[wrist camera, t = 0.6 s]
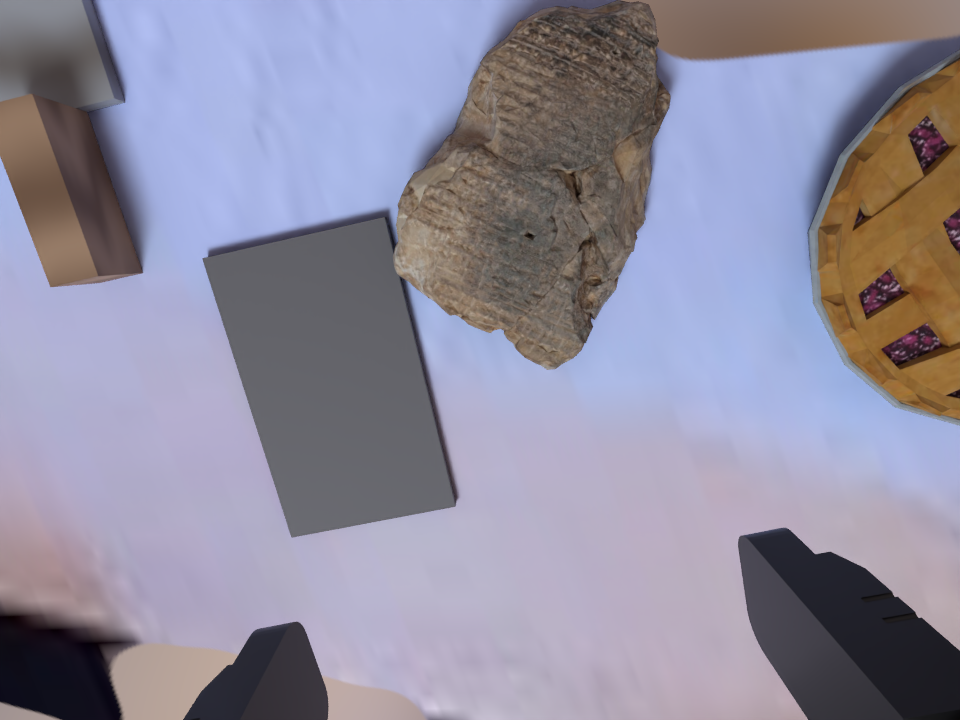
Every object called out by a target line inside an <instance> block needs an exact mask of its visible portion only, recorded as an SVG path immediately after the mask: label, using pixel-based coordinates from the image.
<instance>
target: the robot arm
mask: <svg viewBox="0 0 960 720" xmlns="http://www.w3.org/2000/svg"><path fill="white" fill-rule="evenodd" d="M738 548H739V555H740V562H741V569H742V576H743V583H744V590H745V597H746V604H747V611H748V616H749V620H750V623H751V626H752V629H753V631H754V634H755V636H756V639H757V641H758V643H759V645H760V647H761V649H762V650H763V652H764V654H765V655H766V657H767V658H768V660H769V661H770V663H771V664H772V666H773V667H774V669H775V670H776V672H777V673H778V675H779V676H780V678H781V679H782V681H783V682H784V684H785V685H786V687H787V688H788V690H789V691H790V693H791V694H792V696H793V697H794V699H795V700H796V702H797V703H798V705H799V706H800V708H801V709H802V711H803V712H804V714H805V715H806V717H807V718H808V720H960V651H959V650H958V649H957V648H956V647H955V646H953V645H952V644H951V643H950V642H949V641H948V640H947V639H945V638H944V637H943V636H942V635H941V634H940V633H939V632H937V631H936V630H935V629H934V628H933V627H932V626H931V625H929V624H928V623H927V622H926V621H925V620H924V619H923V618H918V617H917V615H916V613H915V611H913V610H912V609H911V608H910V607H909V606H908V605H907V604H905V603H904V602H903V601H902V600H901V599H900V598H899V597H894V595H893V593H892V591H891V590H889V589H888V588H887V587H886V586H885V585H884V584H882V583H881V582H880V581H879V580H878V579H877V578H876V577H874V576H873V575H872V574H871V573H870V572H869V571H868V570H866V569H865V568H863V567H861V566H859V565H857V564H855V563H853V562H851V561H849V560H847V559H845V558H842V557H840V556H838V555H836V554H834V553H832V552H826V553H821V554H816V555H815V554H814V553H813V552H812V551H811V550H810V549H809V548H808V547H807V546H806V545H805V544H804V543H803V542H802V541H801V540H800V539H799V538H798V537H797V536H796V535H795V534H793V533H792V532H791V531H790V530H789V529H787V528H779V529H774V530H769V531H764V532H759V533H754V534H749V535H744V536H740V537H739V541H738ZM327 719H328V696H327V691H326V687H325V684H324V681H323V679H322V676H321V673H320V670H319V667H318V665H317V662H316V659H315V656H314V653H313V651H312V648H311V645H310V642H309V640H308V637H307V634H306V631H305V629H304V627H303V626H302V625H301V624H300V623H299V622H292V623H287V624H282V625H277V626H271V627H266V628H261V629H257V630H255V631H254V632H253V633H252V634H251V636H250V637H249V639H248V640H247V642H246V644H245V645H244V647H243V649H242V650H241V652H240V654H239V655H238V657H237V658H236V660H235V662H234V663H233V665H228V666H226V668H225V669H223V671H221V673H220V674H219V675H217V676H216V677H215V678H214V679H213V680H212V682H210V683H209V684H208V685H207V687H205V688H204V690H202V691H201V693H200V694H199V696H198V698H197V699H196V701H195V702H194V704H193V705H192V707H191V708H190V710H189V712H188V713H187V715H186V716H185V718H184V719H183V720H327Z"/></svg>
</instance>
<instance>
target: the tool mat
mask: <svg viewBox="0 0 960 720" xmlns="http://www.w3.org/2000/svg"><path fill="white" fill-rule="evenodd" d="M393 254H394V247H393V243H392V239H391V234H390V230H389V226H388V222H387V218H386V217H382V218H378V219H373V220H369V221H365V222H360V223H356V224H351V225H347V226H343V227H338V228H334V229H329V230H325V231H321V232H316V233H312V234H307V235H303V236H299V237H294V238H290V239H286V240H281V241H277V242H272V243H268V244H264V245H259V246H255V247H250V248H246V249H242V250H237V251H233V252H228V253H224V254H220V255H215V256H211V257H206V258H202V259H203V262H204V265H205V268H206V271H207V275H208V278H209V281H210V284H211V287H212V290H213V293H214V296H215V300H216V303H217V306H218V309H219V312H220V315H221V318H222V321H223V325H224V328H225V331H226V334H227V337H228V340H229V343H230V346H231V350H232V353H233V356H234V359H235V362H236V365H237V368H238V371H239V375H240V378H241V381H242V384H243V387H244V390H245V393H246V396H247V400H248V403H249V406H250V409H251V412H252V415H253V418H254V421H255V425H256V428H257V431H258V434H259V437H260V440H261V443H262V446H263V450H264V453H265V456H266V459H267V462H268V465H269V468H270V471H271V475H272V478H273V481H274V484H275V487H276V490H277V493H278V496H279V500H280V503H281V506H282V509H283V512H284V515H285V518H286V521H287V525H288V528H289V531H290V534H291V537H297V536H302V535H308V534H313V533H318V532H323V531H329V530H334V529H339V528H345V527H350V526H355V525H360V524H366V523H371V522H376V521H382V520H387V519H392V518H397V517H403V516H408V515H413V514H419V513H424V512H429V511H434V510H440V509H445V508H450V507H455V506H456V500H455V496H454V492H453V488H452V484H451V480H450V476H449V472H448V468H447V463H446V459H445V455H444V451H443V447H442V443H441V439H440V435H439V431H438V427H437V423H436V418H435V414H434V410H433V406H432V402H431V398H430V394H429V390H428V386H427V382H426V378H425V373H424V369H423V365H422V361H421V357H420V353H419V349H418V345H417V341H416V337H415V333H414V329H413V324H412V320H411V316H410V312H409V308H408V304H407V300H406V296H405V292H404V288H403V284H402V279H401V276H399V275H398V274H397V272H396V270H395V267H394V261H393Z"/></svg>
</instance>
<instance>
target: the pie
mask: <svg viewBox="0 0 960 720" xmlns="http://www.w3.org/2000/svg"><path fill="white" fill-rule="evenodd" d="M808 244H809V256H810V267H811V279H812V293H813V304H814V306H815V308H816V310H817V312H818V314H819V316H820V318H821V320H822V322H823V324H824V326H825V328H826V330H827V332H828V334H829V336H830V337H831V339H832V341H833V343H834V345H835V347H836V349H837V351H838V353H839V355H840V357H841V359H842V361H843V363H844V365H845V366H847V367H848V368H849V369H850V370H851V371H853V372H854V373H855V374H856V375H857V376H858V377H860V378H861V379H862V380H863V381H864V382H866V383H867V384H868V385H869V386H870V387H872V388H873V389H874V390H875V391H876V392H877V393H879V394H880V395H881V396H882V397H883V398H885V399H886V400H887V401H888V402H889V403H890V404H892V405H893V406H894V407H896V408H899V409H903V410H906V411H910V412H913V413H917V414H920V415H924V416H927V417H931V418H935V419H938V420H942V421H945V422H949V423H952V424H956V425H960V49H959V50H958V51H956V52H955V53H953V54H951V55H950V56H948V57H947V58H945V59H943V60H942V61H940V62H938V63H937V64H935V65H934V66H932V67H930V68H929V69H927V70H926V71H924V72H922V73H921V74H919V75H918V76H916V77H914V78H913V79H911V80H910V81H908V82H906V83H905V84H903V85H901V86H900V87H899V88H898V89H897V90H896V91H895V92H894V93H893V95H892V96H891V97H890V98H889V99H888V100H887V101H886V103H885V104H884V105H883V106H882V107H881V108H880V109H879V111H878V112H877V113H876V114H875V115H874V116H873V117H872V119H871V120H870V121H869V122H868V123H867V124H866V125H865V127H864V128H863V129H862V130H861V131H860V132H859V134H858V135H857V136H856V137H855V138H854V139H853V140H852V142H851V143H850V144H849V145H848V146H847V147H846V148H845V150H844V151H843V152H842V153H841V154H840V156H839V158H838V161H837V163H836V166H835V168H834V171H833V173H832V176H831V178H830V181H829V183H828V185H827V188H826V190H825V193H824V195H823V198H822V200H821V203H820V205H819V208H818V210H817V212H816V215H815V217H814V219H813V222H812V224H811V226H810V228H809V231H808Z"/></svg>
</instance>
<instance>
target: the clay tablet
mask: <svg viewBox="0 0 960 720" xmlns="http://www.w3.org/2000/svg"><path fill="white" fill-rule="evenodd" d="M658 42H659V40H658V38H657V32H656V23H655V18H654V16H653V14H652V11H651V9H650V7H649V5H648V4H645V3H641V2H631V3H630V2H625V1H619V0H617V1H615V2H612V3H609V4H606V5H603V6H600V7H597V8H593V9H583V8H578V7H574V6H570V7H569V8H564V7H559V6H555V7H551V8H546V9H542V10H540V11H538V12H536V13H535V14H533V15H531V16H530V17H528V18H527V19H526V20H522V21H520V22H518V23H517V25H516V26H515V27H514V29H513V30H512V31H511V32H510V34H509V35H508V36H507V37H506V38H505V39H504V40H503V41H502V42H500V43H499V44H498V45H496V46H495V47H493V48H492V49H491V50H489V52H488V53H487V54H486V55H485V57H484V58H483V59H482V61H481V63H480V64H481V65H480V67H479V68H478V70H477V72H476V74H475V75H474V77H473V79H472V81H471V83H470V85H469V87H468V96H467V99H466V101H465V104H464V106H463V108H462V110H461V113H460V115H459V117H458V120H457V124H456V128H455V131H454V133H453V134H451V135H449V136H448V137H447V138H446V139H445V141H444V143H443V145H442V147H441V148H440V149H439V151H438V152H437V153H436V154H435V155H434V156H433V157H432V158H431V159H430V160H429V162H428V163H427V165H426V167H425V169H422V170H420V171H418V172H415V173H414V174H413V175H412V177H411V179H410V180H409V182H408V183H407V185H406V187H405V189H404V191H403V193H402V196H401V198H400V201H399V203H398V208H399V211H398V217H397V223H396V227H397V234H398V243H397V245H396V246H395V250H394V254H393V261H394V267H395V270H396V272H397V274H398V275H399V276H401V277H402V278H403V279H405V280H407V281H409V282H410V283H411V284H412V285H413V286H414V287H415V288H416V289H418V290H419V291H420V292H422V293H423V294H424V295H426V296H427V297H428V298H430V299H432V300H433V301H435V302H436V303H437V304H438V305H439V306H440V307H441V308H442V309H443V310H444V311H445V312H446V313H448V314H449V315H457V316H459V317H460V318H462V319H463V320H465V321H466V322H467V323H468V324H469V325H471V326H473V327H476V328H478V329H480V330H483V331H486V332H489V333H491V332H492V331H494V330H497V329H502V330H504V334H505V336H506V338H507V339H508V340H509V341H511V342H512V343H513V344H514V347H515V348H516V349H517V350H518V351H519V352H520V353H521V354H522V355H523V356H524V357H525V358H527V359H529V360H531V361H533V362H534V363H536V364H539V365H541V366H542V367H544V368H546V369H547V370H550V369H556V368H557V367H559V366H560V365H561V364H563V363H565V362H567V361H569V360H570V359H572V358H574V357H575V356H577V354H578V353H579V352H580V351H581V350H582V348H583V345H584V343H586V341H587V339H588V336H589V334H590V332H591V330H592V328H593V326H592V323H591V317H592V318H593V319H594V320H595V319H596V317H597V315H598V313H599V311H600V310H601V308H602V306H603V305H604V304H605V302H606V301H607V300H608V299H609V297H610V296H611V295H612V294H613V292H614V291H615V290H616V287H617V282H618V276H619V275H620V274H621V271H622V269H623V267H624V265H625V262H626V261H627V259H628V257H629V255H630V254H631V252H633V251H634V246H635V241H636V239H637V235H636V232H637V231H638V230H639V228H640V227H641V226H642V225H643V224H644V221H645V219H646V218H645V212H644V202H645V198H646V194H647V191H648V187H649V183H650V180H651V171H652V168H651V163H650V157H649V155H650V149H651V146H652V142H653V139H654V138H655V136H656V135H657V133H658V131H659V129H660V126H661V124H662V121H663V119H664V117H665V115H666V113H667V111H668V109H669V105H670V94H669V93H668V91H667V90H666V88H665V87H664V85H663V84H662V82H661V81H660V79H659V78H658V76H657V74H656V62H657V59H658V57H657V54H656V47H657V44H658Z"/></svg>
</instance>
